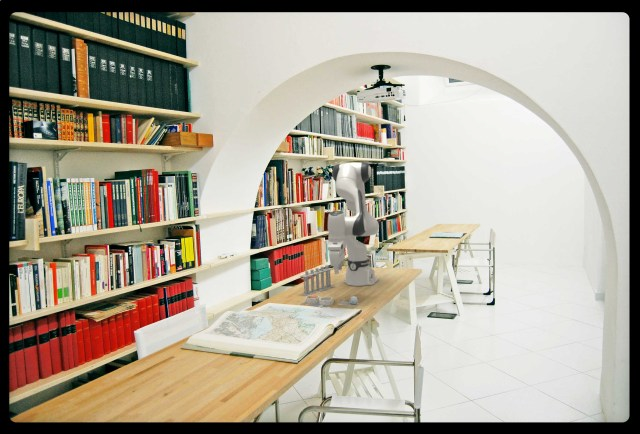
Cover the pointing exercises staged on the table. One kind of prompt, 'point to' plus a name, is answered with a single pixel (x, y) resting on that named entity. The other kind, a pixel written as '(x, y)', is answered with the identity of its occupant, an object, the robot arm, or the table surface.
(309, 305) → the card
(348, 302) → the grey mat
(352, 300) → the ball bluegrey
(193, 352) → the table surface
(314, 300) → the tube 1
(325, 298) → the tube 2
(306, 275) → the test tube rack
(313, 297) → the ball terracotta
